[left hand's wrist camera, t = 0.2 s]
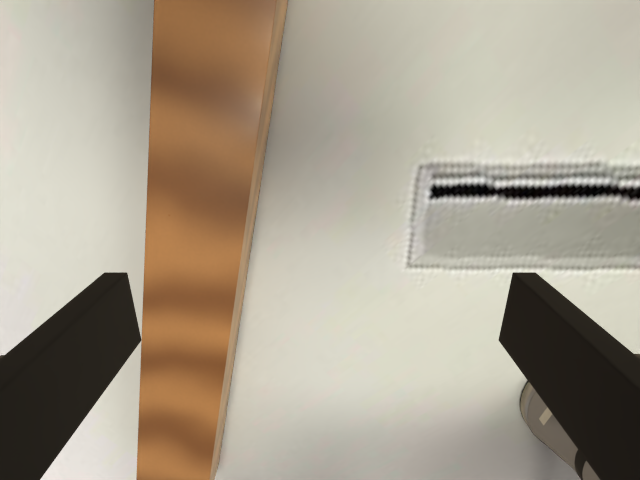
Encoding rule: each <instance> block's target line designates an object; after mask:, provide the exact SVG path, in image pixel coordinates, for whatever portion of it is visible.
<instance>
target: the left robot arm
mask: <svg viewBox="0 0 640 480" xmlns="http://www.w3.org/2000/svg"><path fill="white" fill-rule="evenodd" d="M140 341H141V336H140V332H139V327H138V322H137V317H136V313H135V308H134V303H133V298H132V294H131V289H130V284H129V279H128V275H127V273H104V274H102V275H101V276H100V277H99V278H98V279H96V280H95V281H94V282H93V283H92V284H90V285H89V286H88V287H87V288H85V289H84V290H83V291H82V292H81V293H79V294H78V295H77V296H76V297H75V298H73V299H72V300H71V301H70V302H69V303H67V304H66V305H65V306H64V307H63V308H61V309H60V310H59V311H58V312H56V313H55V314H54V315H53V316H52V317H50V318H49V319H48V320H47V321H46V322H44V323H43V324H42V325H41V326H40V327H38V328H37V329H36V330H35V331H34V332H32V333H31V334H30V335H29V336H27V337H26V338H25V339H24V340H23V341H21V342H20V343H19V344H18V345H17V346H15V347H14V348H13V349H12V350H11V351H9V352H8V353H7V354H6V355H1V356H0V480H40V479H41V477H42V476H43V475H44V473H45V472H46V471H47V469H48V468H49V466H50V465H51V464H52V462H53V461H54V460H55V458H56V457H57V455H58V454H59V453H60V451H61V450H62V449H63V447H64V446H65V444H66V443H67V442H68V440H69V439H70V438H71V436H72V435H73V433H74V432H75V431H76V429H77V428H78V427H79V425H80V424H81V422H82V421H83V420H84V418H85V417H86V416H87V414H88V413H89V411H90V410H91V409H92V407H93V406H94V405H95V403H96V402H97V400H98V399H99V398H100V396H101V395H102V394H103V392H104V391H105V389H106V388H107V387H108V385H109V384H110V383H111V381H112V380H113V378H114V377H115V376H116V374H117V373H118V372H119V370H120V369H121V367H122V366H123V365H124V363H125V362H126V361H127V359H128V358H129V356H130V355H131V354H132V352H133V351H134V350H135V348H136V347H137V345H138V344H139V343H140ZM499 341H500V343H501V344H502V345H503V347H504V348H505V350H506V351H507V352H508V354H509V355H510V356H511V358H512V359H513V361H514V362H515V363H516V365H517V366H518V367H519V369H520V370H521V372H522V373H523V374H524V376H525V377H526V378H527V380H528V381H529V383H530V384H531V385H532V387H533V388H534V389H535V391H536V392H537V394H538V395H539V396H540V398H541V399H542V400H543V402H544V403H545V405H546V406H547V407H548V409H549V410H550V411H551V413H552V414H553V416H554V417H555V418H556V420H557V421H558V422H559V424H560V425H561V427H562V428H563V429H564V431H565V432H566V433H567V435H568V436H569V438H570V439H571V440H572V442H573V443H574V444H575V446H576V447H577V449H578V450H579V451H580V453H581V454H582V455H583V457H584V458H585V460H586V461H587V462H588V464H589V465H590V466H591V468H592V469H593V471H594V472H595V473H596V475H597V476H598V477H599V479H600V480H640V354H633V353H632V352H631V351H629V350H628V349H627V348H626V347H625V346H623V345H622V344H621V343H620V342H619V341H617V340H616V339H615V338H614V337H613V336H611V335H610V334H609V333H608V332H606V331H605V330H604V329H603V328H602V327H600V326H599V325H598V324H597V323H596V322H594V321H593V320H592V319H591V318H590V317H588V316H587V315H586V314H585V313H584V312H582V311H581V310H580V309H579V308H577V307H576V306H575V305H574V304H573V303H571V302H570V301H569V300H568V299H567V298H565V297H564V296H563V295H562V294H561V293H559V292H558V291H557V290H556V289H555V288H553V287H552V286H551V285H550V284H548V283H547V282H546V281H545V280H544V279H542V278H541V277H540V276H539V275H538V274H536V273H513V275H512V279H511V284H510V289H509V294H508V298H507V303H506V308H505V313H504V317H503V322H502V327H501V332H500V336H499Z"/></svg>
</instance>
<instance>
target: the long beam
mask: <svg viewBox="0 0 640 480" xmlns="http://www.w3.org/2000/svg"><path fill="white" fill-rule="evenodd" d="M287 4H288V0H154V23H153V50H152V77H151V104H150V131H149V158H148V185H147V212H146V239H145V266H144V293H143V320H142V347H141V374H140V401H139V428H138V455H137V480H214V479H215V475H216V472H217V468H218V464H219V458H220V451H221V445H222V438H223V431H224V425H225V418H226V411H227V405H228V398H229V391H230V385H231V378H232V371H233V365H234V358H235V351H236V345H237V338H238V331H239V325H240V318H241V311H242V305H243V298H244V291H245V285H246V278H247V271H248V264H249V258H250V251H251V244H252V238H253V231H254V224H255V218H256V211H257V204H258V198H259V191H260V184H261V178H262V171H263V164H264V158H265V151H266V144H267V138H268V131H269V124H270V118H271V111H272V104H273V98H274V91H275V84H276V78H277V71H278V64H279V57H280V51H281V44H282V37H283V31H284V24H285V17H286V11H287Z"/></svg>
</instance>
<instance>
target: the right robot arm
mask: <svg viewBox="0 0 640 480" xmlns="http://www.w3.org/2000/svg"><path fill="white" fill-rule="evenodd" d="M520 407H521V413H522V416H523V418H524V420H525V422H526V423H527V425H528V426H529V428H530V430H531V431H532V433H533V434H534V435H535V436H536V437H537V438H538V439H539V440H540V441H542V442H543V443H544V444H546V445H547V446H548V447H549V448H550V449H551V450H553V451H554V452H555V453H556V454H557V455H558V456H559V457H560V458H561V459H563V460H564V461H565V462H566V463H567V464H568V465H570V466H571V467H572V468H573V469H574V470H575V471H576V472H577V474H578V475H579V477H580V478H581V480H600V479H599V477H598V476H597V475H596V473H595V472H594V471H593V469H592V468H591V466H590V465H589V464H588V462H587V461H586V460H585V458H584V457H583V455H582V454H581V453H580V451H579V450H578V449H577V447H576V446H575V444H574V443H573V442H572V440H571V439H570V438H569V436H568V435H567V433H566V432H565V431H564V429H563V428H562V427H561V425H560V424H559V422H558V421H557V420H556V418H555V417H554V416H553V414H552V413H551V411H550V410H549V409H548V407H547V406H546V405H545V403H544V402H543V400H542V399H541V398H540V396H539V395H538V394H537V392H536V391H535V389H534V388H533V387H532V385H531V384H530V383H529V382H528V383H527V385H526V386H525V388H524V391H523V393H522V396H521V403H520Z"/></svg>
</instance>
